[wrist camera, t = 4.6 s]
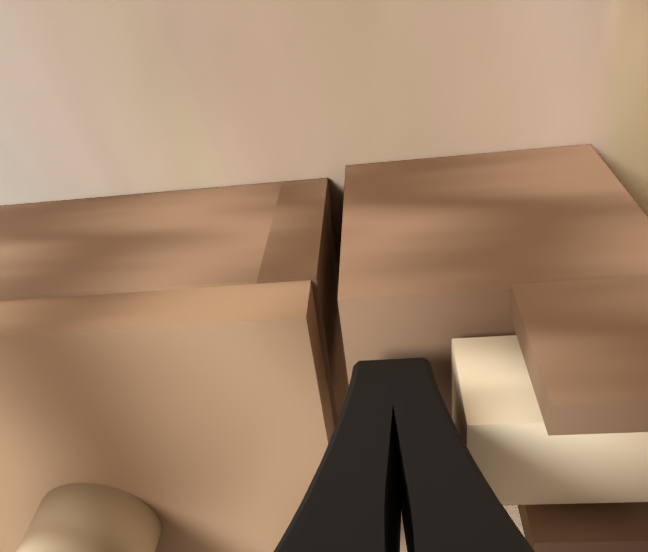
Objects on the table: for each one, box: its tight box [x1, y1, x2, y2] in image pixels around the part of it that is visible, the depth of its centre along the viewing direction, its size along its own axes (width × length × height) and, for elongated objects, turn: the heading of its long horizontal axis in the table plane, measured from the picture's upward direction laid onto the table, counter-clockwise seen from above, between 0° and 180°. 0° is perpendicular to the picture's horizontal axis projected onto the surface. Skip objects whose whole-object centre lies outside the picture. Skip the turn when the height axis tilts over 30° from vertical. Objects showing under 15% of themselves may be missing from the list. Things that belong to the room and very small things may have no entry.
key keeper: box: [337, 144, 648, 552], centre depth 13 cm, size 6×4×8 cm, turn 97°
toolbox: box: [0, 178, 349, 426], centre depth 18 cm, size 12×12×4 cm
